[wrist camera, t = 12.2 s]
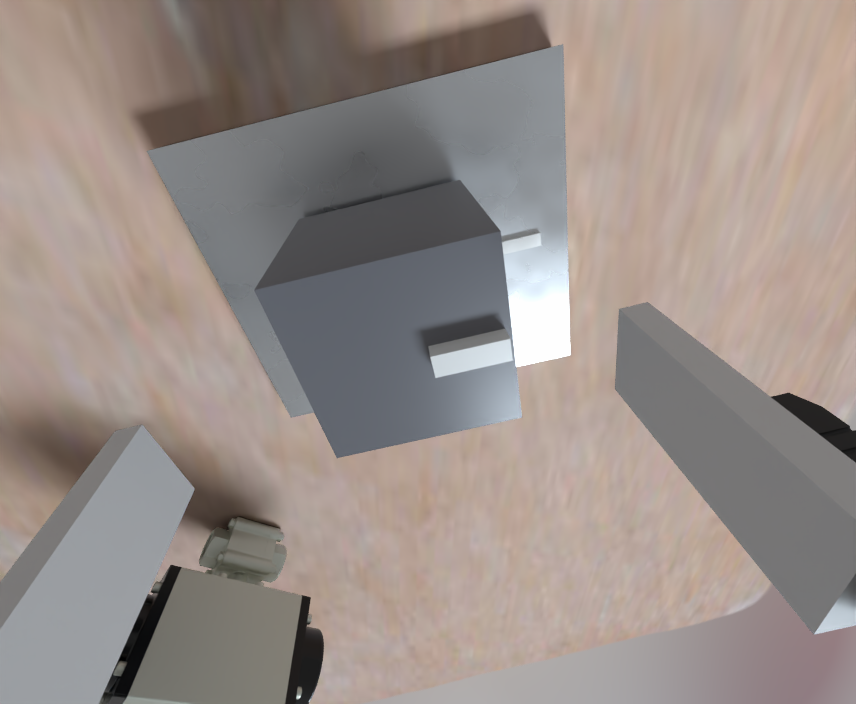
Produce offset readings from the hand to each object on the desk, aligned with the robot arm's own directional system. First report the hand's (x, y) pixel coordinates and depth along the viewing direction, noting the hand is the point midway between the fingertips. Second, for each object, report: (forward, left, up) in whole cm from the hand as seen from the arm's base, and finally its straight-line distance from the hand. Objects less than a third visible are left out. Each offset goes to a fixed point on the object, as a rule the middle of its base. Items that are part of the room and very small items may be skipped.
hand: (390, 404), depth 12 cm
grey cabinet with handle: (+1, 0, -9) cm, 9 cm away
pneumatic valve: (-16, -18, -11) cm, 26 cm away
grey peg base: (0, 0, -10) cm, 10 cm away
